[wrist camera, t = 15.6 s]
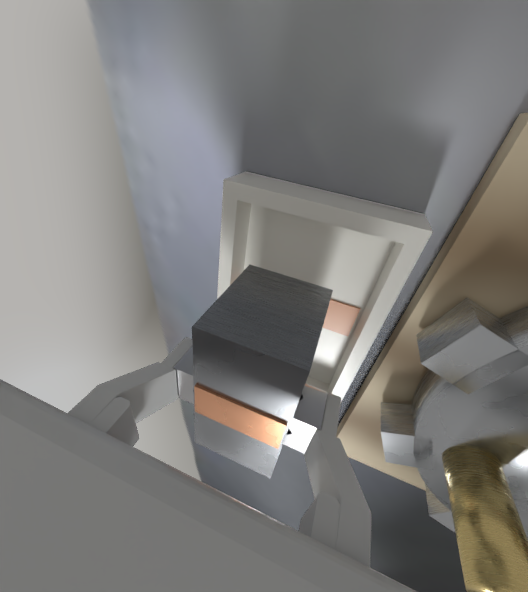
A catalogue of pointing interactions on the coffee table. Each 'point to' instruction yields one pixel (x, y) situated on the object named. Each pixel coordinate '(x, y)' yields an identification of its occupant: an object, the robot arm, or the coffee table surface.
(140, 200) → the coffee table surface
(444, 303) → the sprocket base
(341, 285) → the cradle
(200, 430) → the gray banded block
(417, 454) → the sprocket
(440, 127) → the coffee table surface
